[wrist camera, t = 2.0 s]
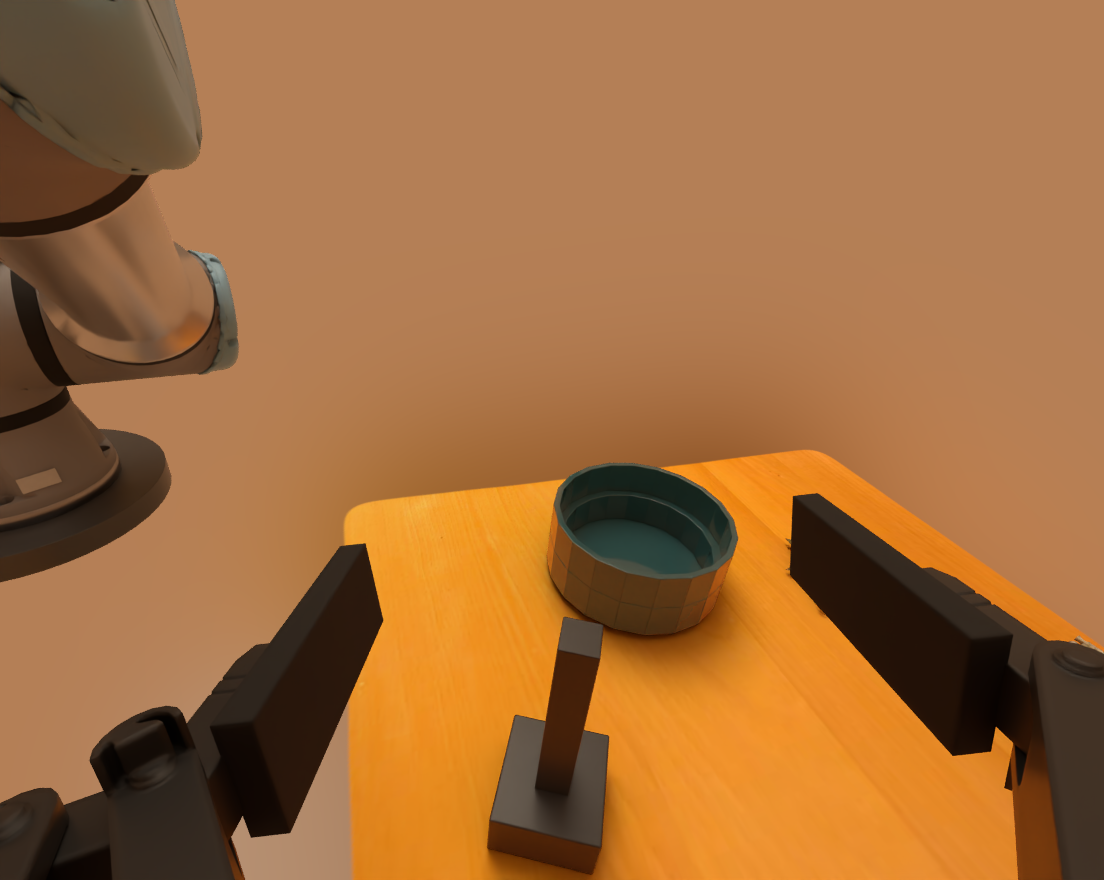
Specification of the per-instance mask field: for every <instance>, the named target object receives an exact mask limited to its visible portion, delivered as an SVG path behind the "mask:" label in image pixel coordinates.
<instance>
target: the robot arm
mask: <svg viewBox="0 0 1104 880" xmlns="http://www.w3.org/2000/svg"><path fill="white" fill-rule="evenodd" d="M201 140H202V128H201V118H200V110H199V106H198V102H197V94H196V88H195V83H194V78H193V74H192V69H191V65H190V61H189V57H188V53H187V48H186V44H185V39H184V34H183V30H182V27H181V22H180V18H179V15H178V11H177V7H176V4H175V0H0V532H3V531H8V530H13V529H17V528H21V527H25V526H29V525H32V524H36V523H39V522H42V521H45V520H48V519H51V518H54V517H56V516H59V515H61V514H64V513H66V512H69V511H71V510H73V509H75V508H77V507H79V506H81V505H83V504H85V503H87V502H88V501H90V500H92V499H93V498H95V497H97V496H98V495H100V494H101V493H102V492H104V491H105V490H106V489H107V488H108V487H110V486H111V485H112V483H113V482H114V481H115V480H116V479H117V477H118V475H119V474H120V471H121V462H120V460H119V457H118V454H117V452H116V450H115V448H114V447H113V445H112V443H111V442H110V441H109V440H108V439H107V438H106V437H105V435H104V434H103V433H102V432H101V431H100V430H99V429H98V428H97V427H96V426H95V425H94V424H93V423H92V422H91V421H90V420H89V419H88V418H87V417H86V416H85V415H84V413H83V412H81V410H80V409H79V408H78V407H77V406H76V405H75V404H74V403H73V401H72V399H71V397H70V395H69V392H68V390H67V387H66V386H69V385H80V384H89V383H100V382H110V381H121V380H131V379H143V378H153V377H163V376H175V375H185V374H199V375H200V374H207V373H210V372H211V371H217V370H224V369H227V368H230V367H231V366H232V365H233V364H234V363H235V362H236V360H237V357H238V340H237V322H236V314H235V309H234V303H233V298H232V294H231V290H230V286H229V282H228V278H227V275H226V272H225V270H224V268H223V266H222V264H221V262H220V261H219V259H218V258H217V257H215V256H214V255H212V254H209V253H199V252H197V251H192V250H188V251H186V250H185V249H184V248H183V247H181V246H180V245H178V244H177V243H175V242H174V241H173V240H172V238H171V236H170V233H169V231H168V228H167V226H166V223H165V221H164V218H163V216H162V213H161V211H160V208H159V206H158V203H157V201H156V198H155V196H154V193H153V191H152V188H151V186H150V183H149V179H150V177H151V175H152V174H153V173H156V172H158V171H160V170H162V169H181V168H185V167H187V166H189V165H190V164H192V163H193V162H194V161H195V160H196V159H197V157H198V156H199V153H200V151H199V150H200V145H201ZM790 575H791V577H792V578H793V579H794V580H795V581H796V582H797V583H798V584H799V585H800V587H801V588H802V589H803V590H804V591H805V592H806V593H807V594H808V595H809V597H810V598H811V599H812V600H813V601H814V602H815V603H816V604H817V605H818V607H819V608H820V609H821V610H822V611H823V612H824V613H825V614H826V615H827V617H828V618H829V619H830V620H831V621H832V622H833V623H834V624H835V625H836V627H837V628H838V629H839V630H840V631H841V632H842V633H843V634H844V635H845V637H846V638H847V639H848V640H849V641H850V642H851V643H852V644H853V645H854V647H855V648H856V649H857V650H858V651H859V652H860V653H861V654H862V655H863V657H864V658H865V659H866V660H867V661H868V662H869V663H870V664H871V665H872V667H873V668H874V669H875V670H876V671H877V672H878V673H879V674H880V675H881V677H882V678H883V679H884V680H885V681H886V682H887V683H888V684H889V686H890V687H891V688H892V689H893V690H894V691H895V692H896V693H897V694H898V696H899V697H900V698H901V699H902V700H903V701H904V702H905V703H906V704H907V706H908V707H909V708H910V709H911V710H912V711H913V712H914V713H915V714H916V716H917V717H918V718H919V719H920V720H921V721H922V722H923V723H924V724H925V726H926V727H927V728H928V729H929V730H930V731H931V732H932V733H933V734H934V736H935V737H936V738H937V739H938V740H939V741H940V742H941V743H942V744H943V746H944V747H945V748H946V749H947V750H948V751H949V752H950V753H951V754H952V756H957V755H965V754H974V753H982V752H991V749H992V743H993V738H994V733H995V728H996V727H997V728H998V729H999V730H1000V731H1001V732H1002V733H1003V734H1005V735H1006V736H1007V737H1008V738H1009V739H1010V740H1011V741H1012V742H1013V748H1012V753H1011V758H1010V763H1009V767H1008V772H1007V777H1006V782H1005V787H1004V788H1006V789H1008V790H1011V791H1012V789H1013V804H1014V820H1015V835H1016V850H1017V866H1018V880H1104V653H1101V652H1099V651H1097V650H1095V649H1092V648H1089V647H1086V646H1083V645H1080V644H1077V643H1071V642H1065V641H1059V640H1056V641H1047V640H1046V639H1044V638H1043V637H1041V636H1040V635H1038V634H1037V633H1036V632H1034V631H1033V630H1031V629H1030V628H1028V627H1027V626H1025V625H1024V624H1022V623H1021V622H1019V621H1018V620H1017V619H1015V618H1014V617H1012V616H1011V615H1009V614H1008V613H1006V612H1005V611H1003V610H1002V609H1001V608H999V607H998V606H996V605H992V604H991V602H990V601H989V600H987V599H986V598H985V597H983V596H982V595H980V594H976V593H975V591H974V590H973V589H971V588H970V587H968V586H967V585H966V584H964V583H963V582H961V581H960V580H958V579H957V578H955V577H953V576H950V575H948V574H946V573H943V572H941V571H938V570H936V569H934V568H931V567H930V568H921V567H919V566H918V565H916V564H915V563H914V562H912V561H911V560H910V559H908V558H907V557H905V556H904V555H903V554H901V553H900V552H898V551H897V550H896V549H894V548H893V547H892V546H890V545H889V544H887V543H886V542H885V541H883V540H882V539H880V538H879V537H878V536H876V535H875V534H873V533H872V532H871V531H869V530H868V529H867V528H865V527H864V526H862V525H861V524H860V523H858V522H857V521H855V520H854V519H853V518H851V517H850V516H849V515H847V514H846V513H844V512H843V511H842V510H840V509H839V508H837V507H836V506H835V505H833V504H832V503H831V502H829V501H828V500H826V499H825V498H824V497H822V496H821V495H819V494H818V493H816V494H807V495H798V496H793V509H792V535H791V560H790ZM382 622H383V617H382V613H381V608H380V604H379V600H378V595H377V591H376V587H375V582H374V578H373V574H372V570H371V565H370V561H369V557H368V552H367V548H366V544H356V545H347V546H340V547H339V549H338V550H337V551H336V553H335V554H334V556H333V557H332V558H331V560H330V561H329V562H328V564H327V565H326V567H325V568H324V569H323V571H322V572H321V573H320V575H319V576H318V578H317V579H316V580H315V582H314V583H313V584H312V586H311V587H310V588H309V590H308V591H307V593H306V594H305V596H304V597H303V598H302V599H301V601H300V602H299V604H298V605H297V606H296V608H295V609H294V610H293V612H292V613H291V615H290V616H289V617H288V619H287V620H286V622H285V623H284V624H283V626H282V627H281V628H280V630H279V631H278V632H277V634H276V635H275V637H274V638H273V639H272V641H271V642H270V643H268V644H259V645H255V646H254V647H253V648H251V649H250V650H249V651H248V652H246V653H245V654H244V655H243V656H241V657H240V658H239V659H237V660H236V661H235V663H234V664H233V665H232V666H231V668H230V669H229V670H228V672H227V673H226V674H225V675H224V677H223V680H222V681H220V682H219V683H218V684H217V686H216V687H215V688H214V689H213V691H212V694H211V695H209V696H208V697H207V698H206V700H205V701H204V702H203V703H202V705H201V706H200V707H199V709H198V710H197V711H196V712H195V714H194V715H193V716H192V717H191V719H190V720H189V721H188V723H186V721H185V718H184V716H183V713H182V712H181V711H180V710H179V709H178V708H177V707H171V706H164V707H158V708H152V709H150V710H147V711H145V712H142V713H140V714H137V715H135V716H133V717H131V718H130V719H128V720H126V721H124V722H123V723H121V724H119V725H118V726H116V727H115V728H114V729H113V730H111V731H110V732H109V733H108V734H107V735H105V736H104V737H103V738H102V739H101V740H100V741H99V743H98V744H97V745H96V746H95V748H94V749H93V750H92V754H91V757H90V763H91V765H92V767H93V769H94V771H95V774H96V776H97V778H98V780H99V782H100V784H101V786H102V788H103V790H104V791H102V792H99V793H97V794H94V795H91V796H88V797H85V798H83V799H80V800H77V801H74V802H71V803H69V804H66V805H63V803H62V801H61V799H60V797H59V795H58V793H56V792H55V791H54V790H53V789H52V788H37V789H34V790H31V791H27V792H24V793H21V794H19V795H16V796H14V797H13V798H10V799H8V800H6V801H4V802H2V803H0V880H245V878H244V875H243V871H242V868H241V865H240V862H239V858H238V856H237V852H236V849H235V846H234V844H233V841H232V838H231V836H232V835H233V832H234V831H235V829H236V827H237V825H238V823H239V822H240V820H241V818H242V816H243V818H244V820H245V823H246V825H247V828H248V831H249V834H250V836H251V838H252V837H261V836H269V835H278V834H286V833H290V832H291V830H292V828H293V826H294V823H295V821H296V819H297V816H298V814H299V812H300V809H301V807H302V805H303V803H304V800H305V798H306V796H307V793H308V791H309V789H310V787H311V784H312V782H313V780H314V777H315V775H316V773H317V771H318V768H319V766H320V764H321V762H322V759H323V757H324V755H325V753H326V750H327V748H328V746H329V743H330V741H331V739H332V737H333V734H334V732H335V730H336V727H337V725H338V723H339V721H340V718H341V716H342V714H343V711H344V709H345V707H346V705H347V702H348V700H349V698H350V695H351V693H352V691H353V689H354V686H355V684H356V682H357V679H358V677H359V675H360V673H361V670H362V668H363V666H364V663H365V661H366V659H367V657H368V654H369V652H370V650H371V647H372V645H373V643H374V641H375V638H376V636H377V634H378V631H379V629H380V627H381V625H382Z"/></svg>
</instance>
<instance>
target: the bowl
mask: <svg viewBox="0 0 1104 880" xmlns="http://www.w3.org/2000/svg"><path fill="white" fill-rule="evenodd" d="M737 541H738V536H737V531H736V527H735V523H734V520H733V518H732V517H731V515H730V514H729V512H728V511H727V510H726V508H725V507H724V505H723V504H722V503H721V502H720V501H719V500H718V499H717V498H715V497H714V496H713V495H712V494H711V493H709V492H708V491H707V490H706V489H705V488H703V487H701V486H700V485H698V484H696V483H694V482H692V481H690V480H689V479H687V478H685V477H683V476H681V475H678V474H675V473H672V472H669V471H667V470H664V469H661V468H657V467H652V466H646V465H641V464H635V463H606V464H601V465H596V466H591V467H587V468H585V469H583V470H580V471H578V472H576V473H574V474H572V475H570V476H569V477H568V478H567V479H566V480H565V481H564V483H563V484H562V485H561V486H560V487H559V488H558V490H557V494H556V498H555V501H554V506H553V513H552V521H551V529H550V536H549V544H548V551H547V561H548V566H549V571H550V576H551V578H552V580H553V581H554V583H555V585H556V586H557V588H558V589H559V591H560V592H561V594H562V595H563V597H564V598H565V599H566V600H567V601H569V602H570V603H571V604H572V605H573V606H575V607H576V608H577V609H578V610H579V611H581V612H582V613H583V614H584V615H586V616H588V617H590V618H592V619H594V620H596V621H598V622H600V623H602V624H604V625H607V626H609V627H611V628H614V629H617V630H622V631H627V632H632V633H637V634H641V635H657V634H673V633H676V632H679V631H681V630H684V629H687V628H689V627H692V626H694V625H697V624H698V623H699V622H700V621H701V620H702V619H703V618H704V617H705V616H706V615H707V614H708V613H710V612H711V611H712V610H713V608H714V605H715V603H716V600H717V597H718V595H719V592H720V589H721V587H722V584H723V581H724V579H725V576H726V573H727V570H728V568H729V565H730V562H731V560H732V557H733V554H734V551H735V548H736V544H737Z"/></svg>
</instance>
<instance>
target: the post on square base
mask: <svg viewBox="0 0 1104 880" xmlns="http://www.w3.org/2000/svg"><path fill="white" fill-rule="evenodd" d="M602 636H603V625H602V624H597V623H592V622H588V621H583V620H578V619H573V618H568V617H564V618H563V622H562V628H561V633H560V638H559V644H558V649H557V655H556V661H555V667H554V673H553V679H552V685H551V691H550V697H549V703H548V709H547V715H546V721H541V720H537V719H533V718H528V717H524V716H519V715H515V716H514V720H513V724H512V728H511V733H510V737H509V741H508V745H507V749H506V753H505V757H504V762H503V766H502V770H501V774H500V778H499V782H498V786H497V791H496V795H495V799H494V803H493V807H492V811H491V815H490V820H489V831H488V843H487V848H489V849H493V850H497V851H501V852H505V853H509V854H513V855H517V856H521V857H525V858H528V859H532V860H536V861H540V862H544V863H548V864H552V865H556V866H560V867H564V868H568V869H572V870H576V871H580V872H584V873H588V874H593V872H594V869H595V866H596V862H597V859H598V856H599V853H600V850H601V847H602V833H603V819H604V805H605V790H606V776H607V762H608V747H609V736H608V735H603V734H599V733H594V732H590V731H586V730H584V727H585V722H586V718H587V714H588V709H589V705H590V701H591V696H592V692H593V688H594V683H595V679H596V675H597V671H598V666H599V662H600V656H601V646H602Z"/></svg>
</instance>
